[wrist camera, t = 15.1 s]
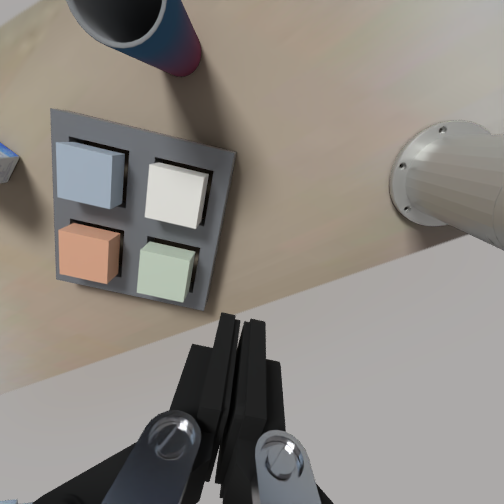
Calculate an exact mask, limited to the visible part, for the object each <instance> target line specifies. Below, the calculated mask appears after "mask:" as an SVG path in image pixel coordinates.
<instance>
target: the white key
mask: <svg viewBox="0 0 504 504" xmlns="http://www.w3.org/2000/svg"><path fill="white" fill-rule="evenodd" d="M208 177H209V174H206V173H202V172H198V171H193V170H189V169H185V168H181V167H177V166H172V165H168V164H164V163H160V162H158V163H154V164H149V175H148V186H147V197H146V208H145V217H146V218H150V219H155V220H159V221H164V222H168V223H172V224H177V225H181V226H185V227H190V228H194V229H196V228H197V226H198V225H199V224H200V222H201V218H202V213H203V207H204V201H205V195H206V189H207V183H208Z"/></svg>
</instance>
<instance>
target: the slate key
mask: <svg viewBox="0 0 504 504" xmlns="http://www.w3.org/2000/svg"><path fill="white" fill-rule="evenodd" d="M124 161H125V154H122V153H118V152H114V151H110V150H106V149H101V148H97V147H93V146H89V145H85V144H80V143H76V142H56V166H57V197H59V198H63V199H67V200H72V201H76V202H81V203H85V204H89V205H94V206H98V207H102V208H107V209H112V208H114V207H116V206H118V205H120V204H122V196H123V179H124Z"/></svg>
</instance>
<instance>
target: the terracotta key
mask: <svg viewBox="0 0 504 504" xmlns="http://www.w3.org/2000/svg"><path fill="white" fill-rule="evenodd" d="M58 235H59V269H60V274H62V275H67V276H72V277H76V278H81V279H86V280H90V281H95V282H99V283H104V284H108V283H109V282H110V281H111V280H112V279H113V278H114V277H115V276H116V275H117V274H118V265H119V248H120V233H117V232H112V231H108V230H103V229H99V228H94V227H90V226H85V225H81V224H76V223H73V224H70V225H68V226H66V227H64V228H61V229H59V230H58Z"/></svg>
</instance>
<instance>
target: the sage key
mask: <svg viewBox="0 0 504 504" xmlns="http://www.w3.org/2000/svg"><path fill="white" fill-rule="evenodd" d="M194 257H195V251H190V250H186V249H181V248H177V247H172V246H168V245H163V244H159V243H155V242H148V243H147V244H146V245H145V246H144V247H143V248H142V249H141V250H140V260H139V271H138V283H137V293H141V294H146V295H150V296H155V297H159V298H164V299H169V300H173V301H178V302H184V300H185V298H186V296H187V294H188V292H189V287H190V281H191V275H192V269H193V263H194Z"/></svg>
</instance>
